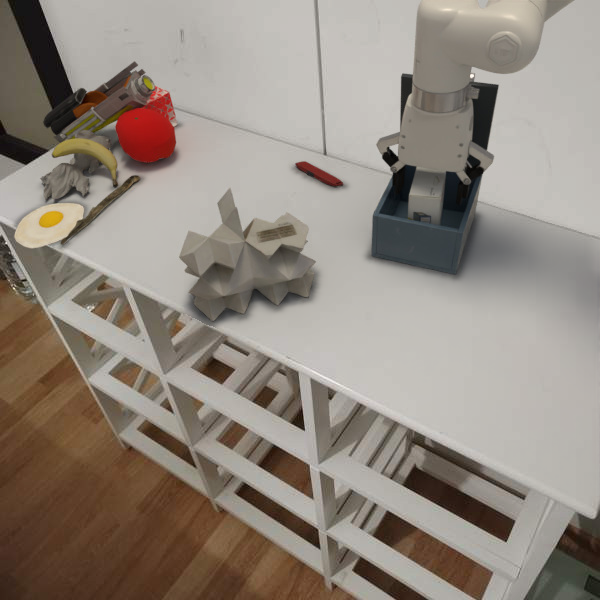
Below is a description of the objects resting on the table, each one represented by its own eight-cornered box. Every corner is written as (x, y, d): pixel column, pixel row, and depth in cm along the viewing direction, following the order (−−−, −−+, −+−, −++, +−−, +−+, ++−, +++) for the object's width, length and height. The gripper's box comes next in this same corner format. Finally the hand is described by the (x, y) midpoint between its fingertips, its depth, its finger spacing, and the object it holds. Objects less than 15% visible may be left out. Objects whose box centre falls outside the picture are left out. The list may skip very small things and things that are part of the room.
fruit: (116, 188, 115) (118, 179, 113) (48, 161, 112) (49, 151, 109) (127, 163, 119) (130, 154, 117) (63, 136, 115) (64, 125, 113)
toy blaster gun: (116, 70, 108) (129, 42, 114) (36, 131, 121) (52, 103, 127) (152, 106, 114) (163, 78, 120) (73, 161, 127) (86, 133, 133)
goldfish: (78, 198, 109) (36, 165, 106) (62, 224, 116) (22, 194, 113) (131, 147, 123) (94, 116, 120) (113, 173, 129) (78, 145, 127)
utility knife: (300, 162, 116) (293, 167, 115) (300, 158, 115) (293, 162, 114) (343, 185, 110) (336, 190, 109) (343, 181, 109) (336, 186, 108)
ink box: (435, 256, 94) (443, 198, 85) (403, 252, 95) (408, 195, 86) (441, 223, 99) (449, 165, 91) (411, 219, 101) (416, 162, 92)
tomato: (96, 129, 113) (117, 168, 121) (149, 137, 109) (167, 177, 117) (126, 95, 119) (144, 134, 127) (177, 101, 114) (192, 142, 123)
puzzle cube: (118, 96, 124) (140, 107, 120) (147, 81, 128) (169, 92, 124) (129, 129, 130) (150, 140, 126) (156, 114, 134) (177, 124, 130)
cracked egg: (76, 242, 104) (74, 236, 103) (8, 251, 104) (5, 245, 103) (87, 199, 113) (84, 194, 112) (24, 207, 113) (21, 202, 112)
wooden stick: (58, 245, 104) (54, 237, 102) (136, 176, 117) (133, 168, 116) (65, 248, 103) (60, 239, 102) (142, 178, 116) (139, 170, 115)
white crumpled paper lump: (205, 224, 75) (193, 163, 85) (164, 320, 86) (157, 256, 96) (348, 257, 86) (322, 199, 96) (295, 339, 96) (277, 279, 106)
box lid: (497, 87, 81) (505, 65, 83) (400, 76, 85) (410, 55, 88) (482, 173, 94) (489, 152, 97) (399, 159, 99) (407, 139, 101)
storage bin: (455, 274, 92) (462, 233, 85) (371, 256, 96) (372, 215, 90) (474, 215, 101) (482, 174, 95) (397, 200, 106) (399, 160, 99)
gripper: (509, 87, 78) (489, 189, 90) (386, 73, 83) (383, 172, 96) (500, 115, 73) (480, 219, 86) (370, 98, 78) (369, 199, 91)
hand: (429, 194), depth 91 cm, fingers open, 9 cm apart
